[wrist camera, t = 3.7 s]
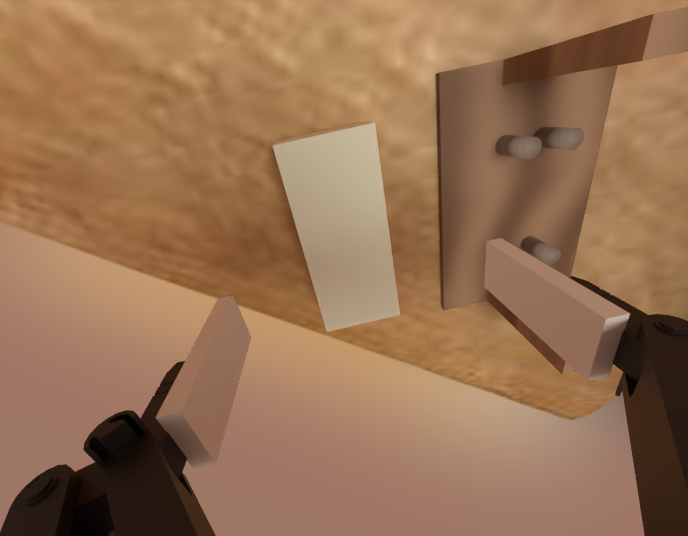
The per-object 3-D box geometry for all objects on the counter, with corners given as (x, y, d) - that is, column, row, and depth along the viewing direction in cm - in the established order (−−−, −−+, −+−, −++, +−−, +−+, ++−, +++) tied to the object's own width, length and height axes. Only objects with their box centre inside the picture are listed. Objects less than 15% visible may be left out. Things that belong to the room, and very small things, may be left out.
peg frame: (441, 307, 29) (501, 388, 20) (436, 73, 20) (541, 36, 11) (565, 280, 29) (676, 348, 21) (617, 37, 20) (860, -28, 11)
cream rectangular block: (323, 297, 27) (326, 332, 23) (279, 140, 21) (272, 145, 16) (384, 283, 27) (399, 314, 23) (360, 122, 21) (374, 122, 16)
